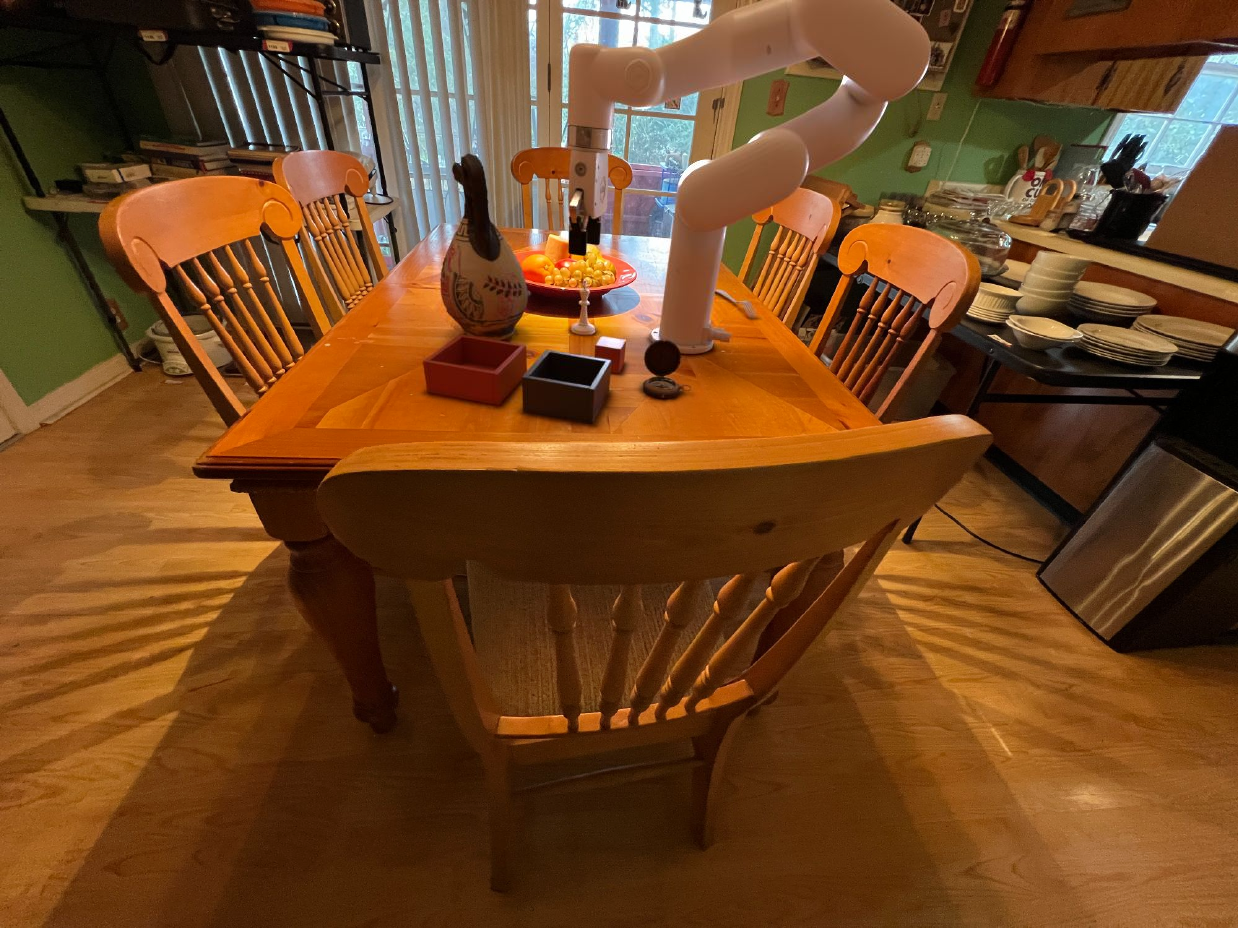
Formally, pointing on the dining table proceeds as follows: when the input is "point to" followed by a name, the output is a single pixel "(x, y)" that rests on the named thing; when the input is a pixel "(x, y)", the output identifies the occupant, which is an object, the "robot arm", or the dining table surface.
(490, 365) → the red bin
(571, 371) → the charcoal bin
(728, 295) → the fork
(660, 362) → the compass
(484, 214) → the ceramic jug
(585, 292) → the chess piece
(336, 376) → the dining table surface
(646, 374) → the dining table surface
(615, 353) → the red block
